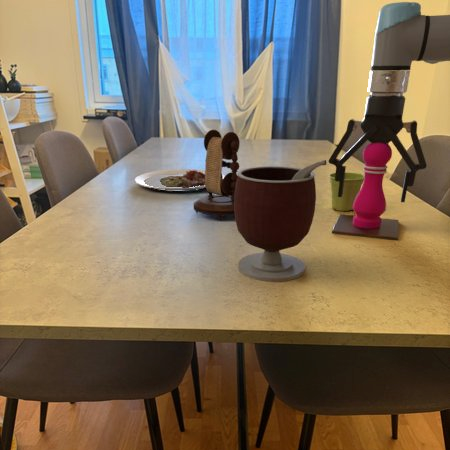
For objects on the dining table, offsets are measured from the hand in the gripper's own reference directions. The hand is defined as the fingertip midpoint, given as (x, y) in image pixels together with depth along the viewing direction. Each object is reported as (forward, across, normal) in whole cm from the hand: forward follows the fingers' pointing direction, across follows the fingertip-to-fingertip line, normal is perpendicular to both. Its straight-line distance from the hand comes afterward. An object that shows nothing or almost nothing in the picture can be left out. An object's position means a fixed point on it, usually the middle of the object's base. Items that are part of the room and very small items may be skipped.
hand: (370, 198), depth 98 cm
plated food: (+7, -61, +28) cm, 68 cm away
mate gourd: (+7, -14, -31) cm, 35 cm away
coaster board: (+7, 0, 0) cm, 7 cm away
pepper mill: (+6, 0, 0) cm, 6 cm away
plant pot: (+7, -7, +15) cm, 18 cm away
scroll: (+7, -36, 0) cm, 37 cm away
